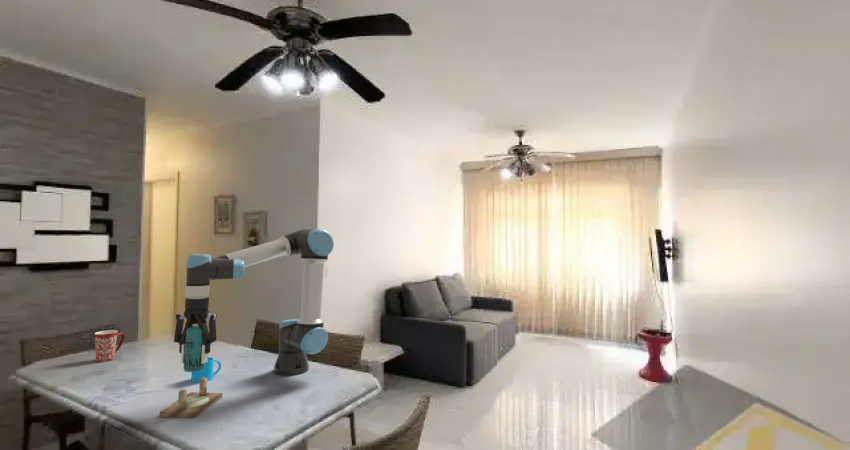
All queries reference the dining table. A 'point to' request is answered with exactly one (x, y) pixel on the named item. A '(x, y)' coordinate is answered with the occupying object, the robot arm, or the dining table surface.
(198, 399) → the wooden board with pegs
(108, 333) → the mug
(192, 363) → the beverage bottle
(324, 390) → the dining table surface
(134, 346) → the dining table surface
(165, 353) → the dining table surface
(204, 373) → the mug
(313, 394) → the dining table surface
